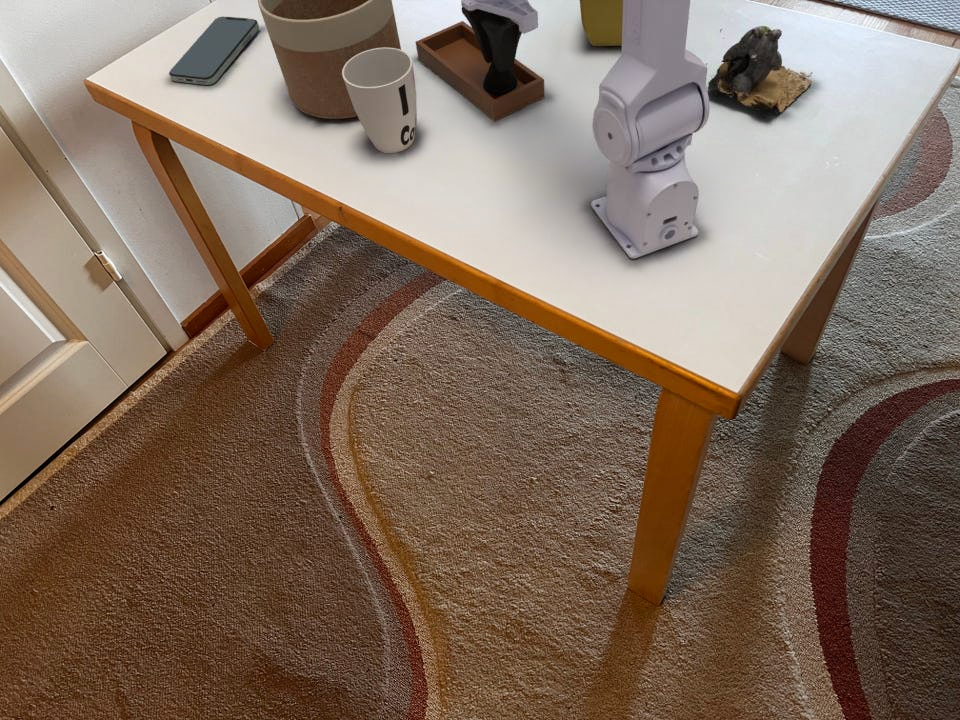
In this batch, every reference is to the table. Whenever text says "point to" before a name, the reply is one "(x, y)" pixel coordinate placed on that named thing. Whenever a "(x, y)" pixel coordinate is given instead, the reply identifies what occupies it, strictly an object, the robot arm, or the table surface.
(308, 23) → the planter
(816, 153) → the table surface
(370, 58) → the cup
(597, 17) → the flower pot
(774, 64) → the figurine
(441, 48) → the brown rectangular tray
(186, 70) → the smartphone
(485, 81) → the chess piece
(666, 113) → the robot arm
